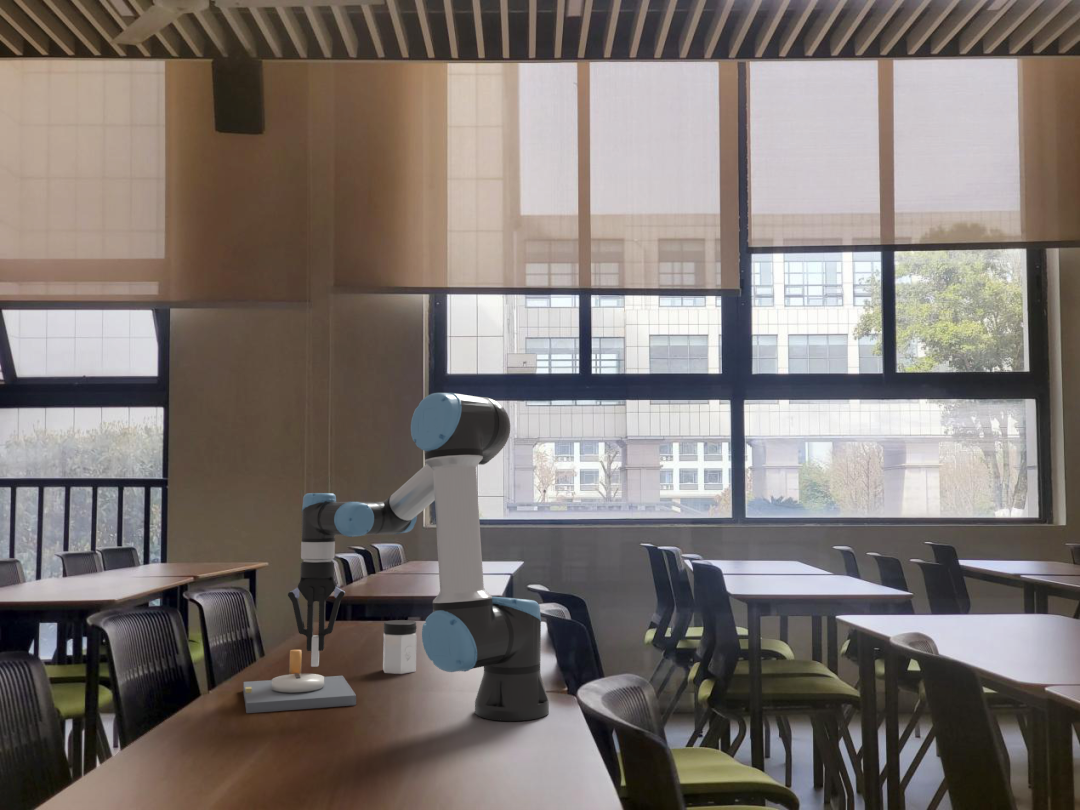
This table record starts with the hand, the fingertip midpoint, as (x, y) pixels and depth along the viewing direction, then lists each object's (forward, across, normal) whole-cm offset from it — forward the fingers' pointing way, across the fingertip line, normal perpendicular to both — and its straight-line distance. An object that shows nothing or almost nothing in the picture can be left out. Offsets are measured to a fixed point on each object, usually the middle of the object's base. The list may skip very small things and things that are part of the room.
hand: (314, 665), depth 207 cm
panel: (+6, +3, +8) cm, 10 cm away
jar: (+6, -19, -20) cm, 28 cm away
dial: (+3, +3, +6) cm, 7 cm away
